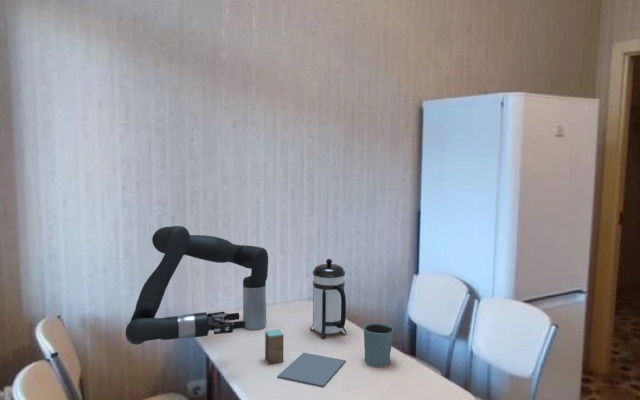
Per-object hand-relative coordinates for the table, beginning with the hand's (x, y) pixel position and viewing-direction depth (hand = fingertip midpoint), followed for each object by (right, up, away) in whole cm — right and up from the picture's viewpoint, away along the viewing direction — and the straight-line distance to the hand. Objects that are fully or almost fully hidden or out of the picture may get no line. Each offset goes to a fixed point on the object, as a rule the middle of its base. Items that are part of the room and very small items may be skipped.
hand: (241, 320), depth 165 cm
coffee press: (+30, -13, +32) cm, 46 cm away
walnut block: (+10, -16, +6) cm, 19 cm away
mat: (+24, -16, -1) cm, 29 cm away
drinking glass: (+46, -16, +6) cm, 49 cm away
